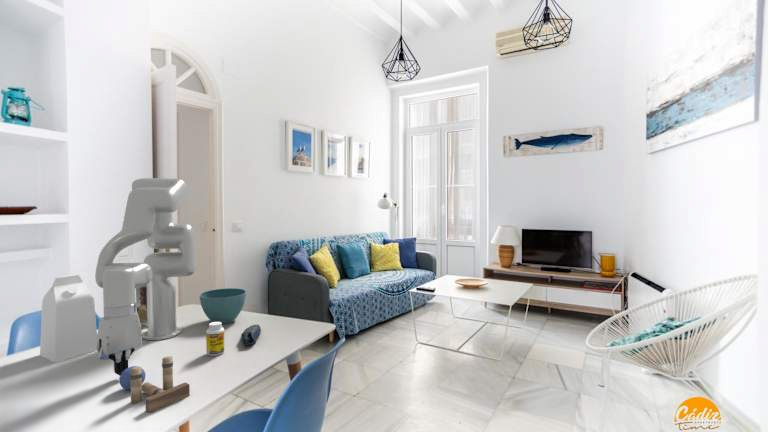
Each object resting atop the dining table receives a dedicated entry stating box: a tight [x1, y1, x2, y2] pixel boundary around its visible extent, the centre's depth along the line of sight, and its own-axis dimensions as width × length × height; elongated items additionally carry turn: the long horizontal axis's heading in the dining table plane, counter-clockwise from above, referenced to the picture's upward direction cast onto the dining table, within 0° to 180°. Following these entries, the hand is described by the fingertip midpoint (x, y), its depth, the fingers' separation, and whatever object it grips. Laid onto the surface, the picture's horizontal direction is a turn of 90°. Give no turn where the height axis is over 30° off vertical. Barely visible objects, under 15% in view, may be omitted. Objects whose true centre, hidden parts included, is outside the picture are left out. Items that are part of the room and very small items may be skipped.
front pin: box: [142, 381, 164, 397], centre depth 102 cm, size 3×3×8 cm
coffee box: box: [135, 285, 148, 326], centre depth 161 cm, size 9×6×16 cm
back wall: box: [144, 382, 191, 414], centre depth 98 cm, size 2×10×3 cm, turn 148°
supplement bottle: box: [205, 321, 225, 357], centre depth 130 cm, size 6×6×10 cm
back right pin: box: [130, 366, 143, 405], centre depth 98 cm, size 3×3×8 cm
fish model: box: [241, 324, 261, 347], centre depth 145 cm, size 7×21×5 cm, turn 13°
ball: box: [118, 365, 146, 391], centre depth 105 cm, size 6×6×6 cm
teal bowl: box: [199, 287, 247, 325], centre depth 164 cm, size 18×18×12 cm
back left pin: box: [161, 356, 174, 391], centre depth 105 cm, size 3×3×8 cm
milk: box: [39, 274, 98, 363], centre depth 130 cm, size 12×12×26 cm
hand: (121, 373), depth 111 cm, fingers closed
